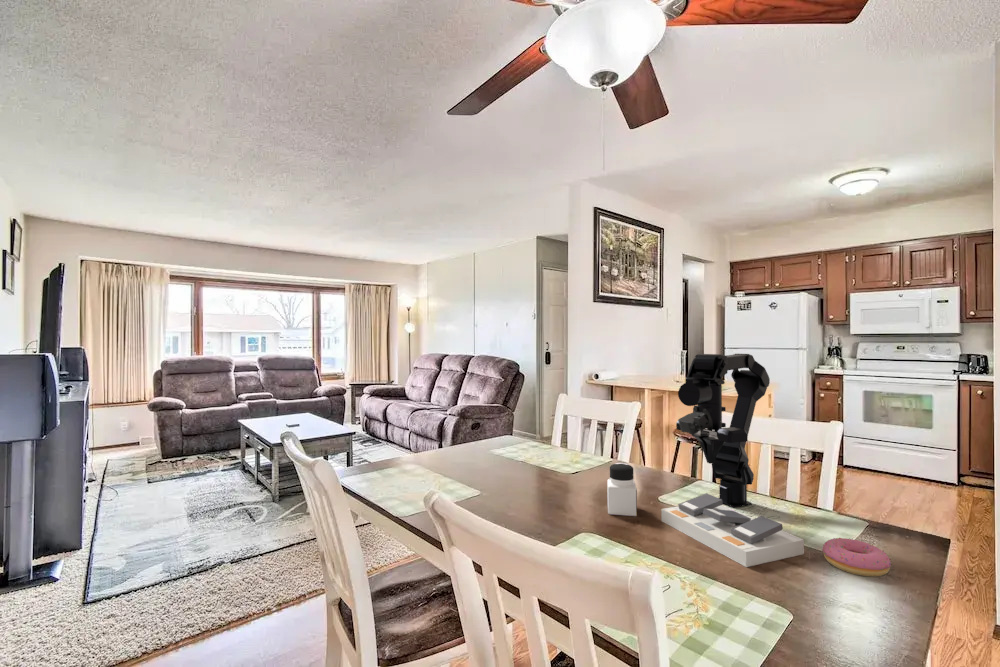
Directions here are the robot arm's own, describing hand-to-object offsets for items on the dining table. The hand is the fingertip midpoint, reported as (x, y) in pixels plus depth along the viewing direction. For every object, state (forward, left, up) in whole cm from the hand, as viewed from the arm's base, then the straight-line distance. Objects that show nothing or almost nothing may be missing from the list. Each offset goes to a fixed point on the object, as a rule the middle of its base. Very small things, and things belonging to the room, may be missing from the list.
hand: (709, 463), depth 121 cm
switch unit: (+7, +12, -13) cm, 19 cm away
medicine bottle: (+20, -10, -13) cm, 26 cm away
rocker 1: (+7, +4, -8) cm, 12 cm away
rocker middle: (+7, +12, -8) cm, 16 cm away
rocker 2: (+7, +20, -8) cm, 23 cm away
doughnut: (-6, +32, -13) cm, 35 cm away
